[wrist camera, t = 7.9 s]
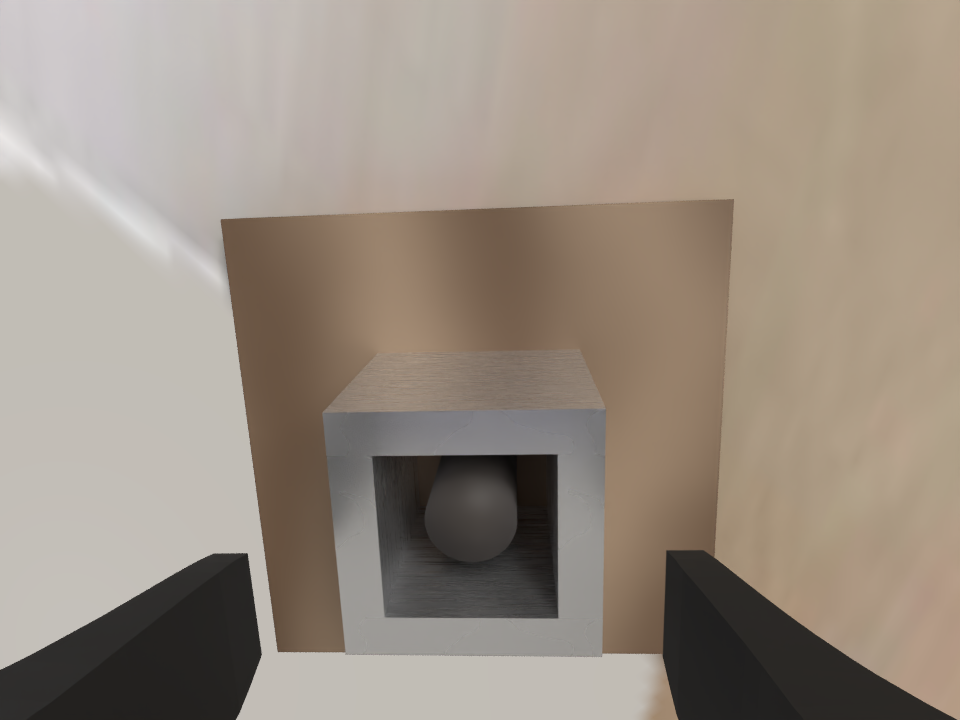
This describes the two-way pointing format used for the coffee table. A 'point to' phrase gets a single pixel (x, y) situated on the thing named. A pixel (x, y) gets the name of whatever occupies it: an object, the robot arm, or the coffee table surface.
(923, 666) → the coffee table surface
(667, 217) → the brown peg base
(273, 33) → the coffee table surface
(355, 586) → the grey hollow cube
